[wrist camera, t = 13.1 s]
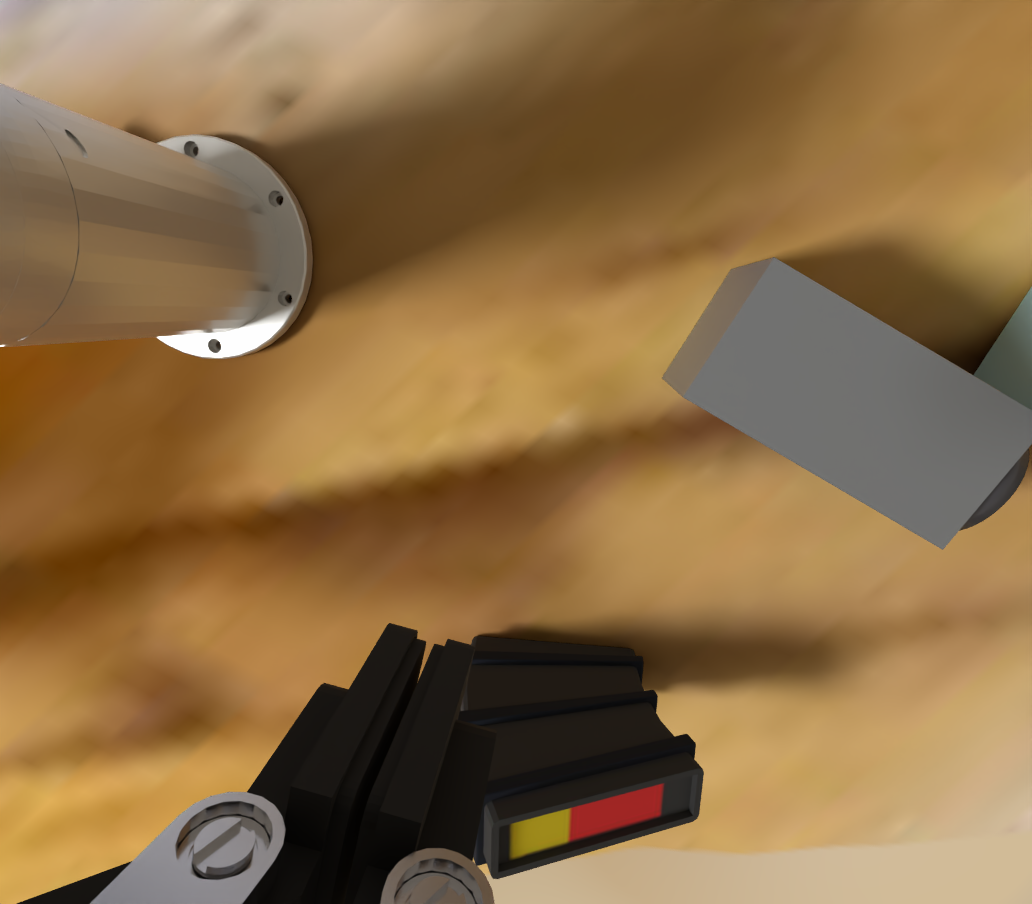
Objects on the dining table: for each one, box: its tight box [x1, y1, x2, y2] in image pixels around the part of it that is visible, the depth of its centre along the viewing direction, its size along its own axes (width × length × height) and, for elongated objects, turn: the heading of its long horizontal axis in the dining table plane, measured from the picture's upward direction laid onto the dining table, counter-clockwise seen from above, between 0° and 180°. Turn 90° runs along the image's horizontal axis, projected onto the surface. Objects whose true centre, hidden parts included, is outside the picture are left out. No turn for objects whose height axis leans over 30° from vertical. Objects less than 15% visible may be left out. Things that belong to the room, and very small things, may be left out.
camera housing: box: [662, 257, 1032, 550], centre depth 31 cm, size 15×7×8 cm, turn 61°
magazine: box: [458, 636, 704, 879], centre depth 35 cm, size 4×13×15 cm, turn 89°
